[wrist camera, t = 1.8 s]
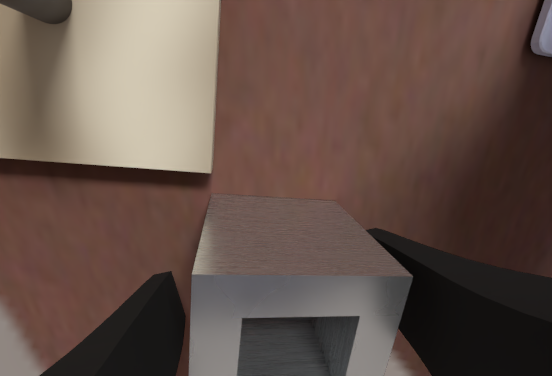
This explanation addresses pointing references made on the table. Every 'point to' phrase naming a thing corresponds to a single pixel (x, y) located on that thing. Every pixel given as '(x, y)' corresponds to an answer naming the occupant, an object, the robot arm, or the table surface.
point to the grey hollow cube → (291, 291)
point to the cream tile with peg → (110, 82)
